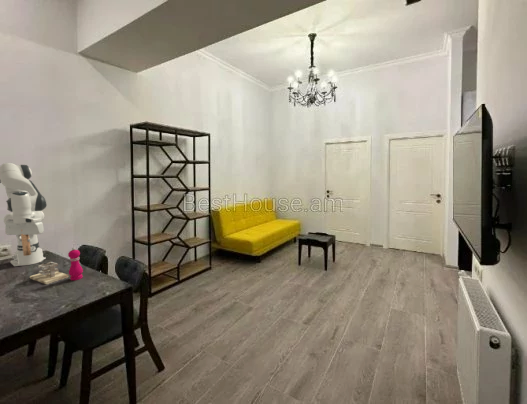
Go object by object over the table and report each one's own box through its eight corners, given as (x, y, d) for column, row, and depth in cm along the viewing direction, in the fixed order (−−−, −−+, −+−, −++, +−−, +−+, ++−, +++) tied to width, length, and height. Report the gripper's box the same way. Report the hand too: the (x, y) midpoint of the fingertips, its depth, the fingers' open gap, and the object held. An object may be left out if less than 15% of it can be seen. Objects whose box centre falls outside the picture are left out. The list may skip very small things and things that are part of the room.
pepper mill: (76, 281, 162) (73, 249, 160) (66, 280, 163) (63, 248, 161) (86, 276, 169) (83, 246, 167) (76, 275, 170) (73, 245, 168)
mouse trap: (30, 278, 167) (28, 264, 166) (52, 271, 178) (50, 258, 177) (46, 284, 158) (44, 269, 157) (68, 277, 169) (67, 263, 167)
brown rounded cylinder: (21, 255, 158) (18, 229, 156) (27, 253, 162) (24, 228, 160) (27, 255, 158) (24, 229, 156) (33, 253, 162) (30, 228, 160)
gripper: (0, 220, 154) (3, 243, 156) (35, 219, 155) (38, 242, 156) (10, 218, 161) (13, 240, 162) (44, 217, 161) (47, 240, 162)
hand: (25, 241), depth 159 cm, fingers closed on brown rounded cylinder, 4 cm apart
